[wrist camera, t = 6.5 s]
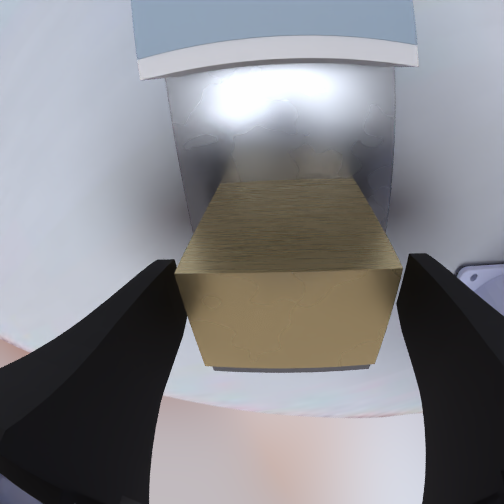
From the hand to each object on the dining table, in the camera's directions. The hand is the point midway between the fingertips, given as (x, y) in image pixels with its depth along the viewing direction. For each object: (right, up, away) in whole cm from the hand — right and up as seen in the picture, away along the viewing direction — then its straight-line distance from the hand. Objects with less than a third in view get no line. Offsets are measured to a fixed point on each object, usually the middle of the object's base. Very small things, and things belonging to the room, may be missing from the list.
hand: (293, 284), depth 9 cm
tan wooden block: (0, +2, +3) cm, 4 cm away
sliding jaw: (-1, +9, -2) cm, 10 cm away
